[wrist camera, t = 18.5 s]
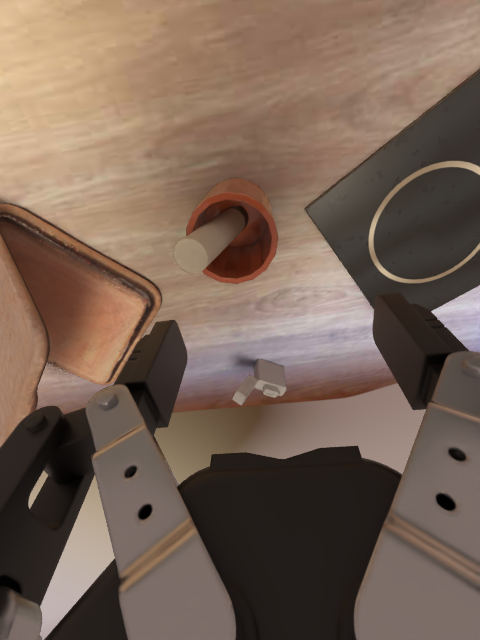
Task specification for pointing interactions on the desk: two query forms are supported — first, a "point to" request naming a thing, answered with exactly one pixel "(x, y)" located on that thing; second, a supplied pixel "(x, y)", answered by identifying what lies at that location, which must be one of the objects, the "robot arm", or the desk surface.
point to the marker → (210, 240)
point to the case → (61, 311)
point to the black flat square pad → (413, 207)
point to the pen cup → (252, 243)
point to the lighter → (263, 381)
